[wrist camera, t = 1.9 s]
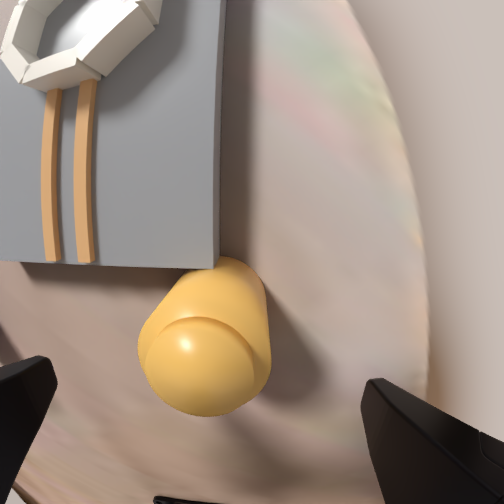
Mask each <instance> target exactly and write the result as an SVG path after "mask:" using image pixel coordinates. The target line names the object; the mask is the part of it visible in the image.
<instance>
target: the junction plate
mask: <svg viewBox="0 0 504 504" xmlns="http://www.w3.org/2000/svg"><path fill="white" fill-rule="evenodd" d="M226 3H227V0H19V2H18V5H17V6H15V8H14V11H13V13H12V16H11V19H10V21H9V24H8V27H7V30H6V33H5V36H4V39H3V43H2V46H1V50H0V53H1V56H0V260H2V261H19V262H37V263H57V264H79V265H102V266H128V267H158V268H192V269H214V267H215V265H216V263H217V261H218V259H219V257H220V137H221V102H222V76H223V54H224V35H225V18H226Z"/></svg>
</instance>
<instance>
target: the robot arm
mask: <svg viewBox="0 0 504 504" xmlns="http://www.w3.org/2000/svg"><path fill="white" fill-rule="evenodd" d="M57 385H58V382H57V378H56V375H55V372H54V369H53V366H52V363H51V361H50V359H49V358H47V357H43V356H39V355H38V356H34V357H31V358H28V359H25V360H22V361H19V362H15V363H12V364H9V365H6V366H3V367H0V504H5V502H6V500H7V497H8V495H9V493H10V490H11V488H12V485H13V483H14V481H15V479H16V476H17V474H18V472H19V470H20V467H21V465H22V463H23V461H24V459H25V457H26V455H27V453H28V451H29V448H30V446H31V444H32V442H33V440H34V438H35V436H36V434H37V433H38V431H39V429H40V427H41V424H42V422H43V420H44V417H45V415H46V412H47V410H48V408H49V405H50V403H51V400H52V398H53V396H54V393H55V391H56V389H57ZM361 414H362V418H363V423H364V428H365V433H366V438H367V443H368V448H369V453H370V457H371V460H372V463H373V466H374V469H375V472H376V476H377V479H378V482H379V485H380V488H381V491H382V494H383V498H384V501H385V504H504V442H502V441H500V440H498V439H495V438H493V437H491V436H489V435H487V434H485V433H483V432H479V430H477V429H475V428H473V427H471V426H470V425H467V424H466V423H464V422H462V421H460V420H458V419H456V418H454V417H452V416H451V415H449V414H447V413H445V412H443V411H441V410H439V409H437V408H436V407H434V406H432V405H430V404H428V403H427V402H425V401H423V400H421V399H419V398H417V397H416V396H414V395H412V394H410V393H409V392H407V391H405V390H403V389H401V388H400V387H398V386H396V385H394V384H393V383H391V382H389V381H387V380H386V379H384V378H375V379H369V380H368V381H367V383H366V386H365V390H364V393H363V397H362V401H361ZM153 503H154V504H208V503H198V502H190V501H183V500H176V499H170V498H164V497H158V496H155V497H154V499H153Z"/></svg>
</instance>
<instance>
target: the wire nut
mask: <svg viewBox="0 0 504 504" xmlns="http://www.w3.org/2000/svg"><path fill="white" fill-rule="evenodd" d="M138 356H139V360H140V364H141V367H142V369H143V371H144V373H145V375H146V376H147V379H148V382H149V384H150V386H151V387H152V389H153V390H154V392H155V393H156V394H157V395H158V396H159V397H160V398H161V399H162V400H163V401H164V402H165V403H167V404H168V405H170V406H171V407H173V408H175V409H177V410H179V411H181V412H184V413H187V414H190V415H195V416H202V417H212V416H220V415H224V414H227V413H230V412H232V411H234V410H236V409H237V408H239V407H240V406H241V405H243V404H245V403H247V402H248V401H250V400H251V399H253V398H254V397H255V396H256V395H257V394H258V393H259V392H260V391H261V390H262V389H263V387H264V386H265V384H266V382H267V380H268V378H269V375H270V371H271V349H270V337H269V326H268V314H267V303H266V294H265V289H264V286H263V284H262V282H261V280H260V278H259V277H258V275H257V274H256V273H255V272H254V271H253V269H251V268H250V267H249V266H248V265H246V264H245V263H243V262H241V261H239V260H237V259H234V258H231V257H225V256H220V257H219V259H218V261H217V263H216V265H215V267H214V269H192V268H188V269H187V270H186V271H185V272H184V274H183V275H182V276H181V277H180V279H179V280H178V281H177V282H176V284H175V285H174V286H173V287H172V289H171V290H170V291H169V293H168V294H167V295H166V296H165V298H164V299H163V300H162V302H161V303H160V304H159V305H158V307H157V308H156V309H155V311H154V312H153V313H152V315H151V316H150V317H149V319H148V320H147V321H146V322H145V324H144V326H143V328H142V330H141V332H140V335H139V340H138Z"/></svg>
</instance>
